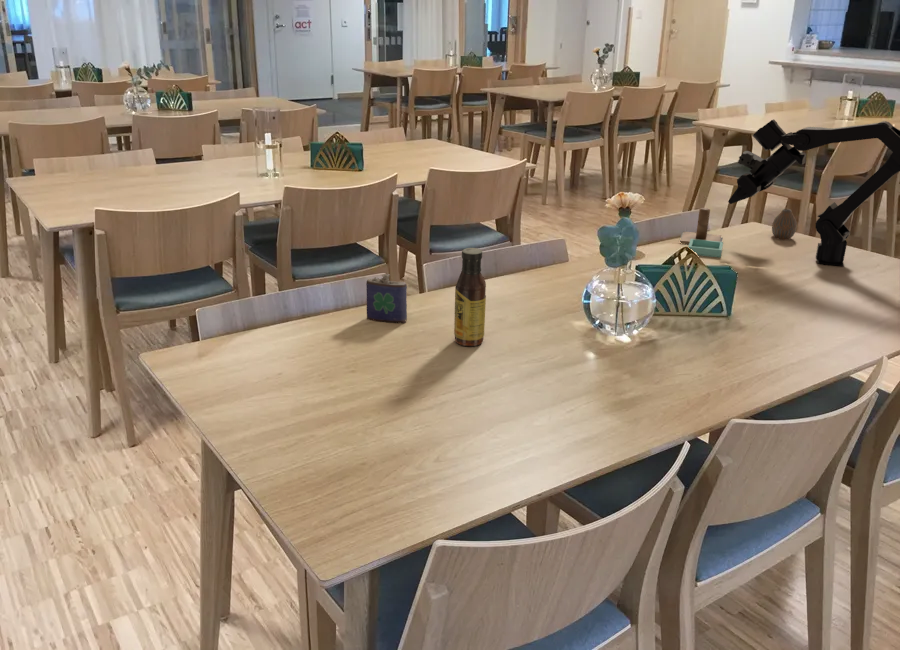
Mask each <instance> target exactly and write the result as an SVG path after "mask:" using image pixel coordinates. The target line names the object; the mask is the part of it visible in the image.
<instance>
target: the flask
mask: <svg viewBox="0 0 900 650" xmlns="http://www.w3.org/2000/svg"><path fill="white" fill-rule="evenodd" d="M390 276H391V274H389V273H383V274H382V275H381V278H378V277H373V278H369V279H366V285H365V286H366V319H367V320H368V321H372V322H379V323H389V324H405V323H406V322H407V320H408V316H407V315H408V312H407V310H408V308H407V307H408V304H407V299H408V298H407V289H408V286H407V283H406V282H405V281H395V280H394V281H392V280H390Z"/></svg>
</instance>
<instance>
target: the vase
mask: <svg viewBox="0 0 900 650" xmlns="http://www.w3.org/2000/svg"><path fill="white" fill-rule="evenodd" d="M797 225H798V223H797V219H796V217H795V216H794V214H793V211H792V209H790V208H783V209H782V210H781V212H779V213H778V214H777V216H776V217H774V219H773V222H772V224H771V231H772V235H773V237H774V238H775V239H778V240H783V241H786V240H790V239H791V238H792V237H794V235H795V234H796V231H797Z"/></svg>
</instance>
